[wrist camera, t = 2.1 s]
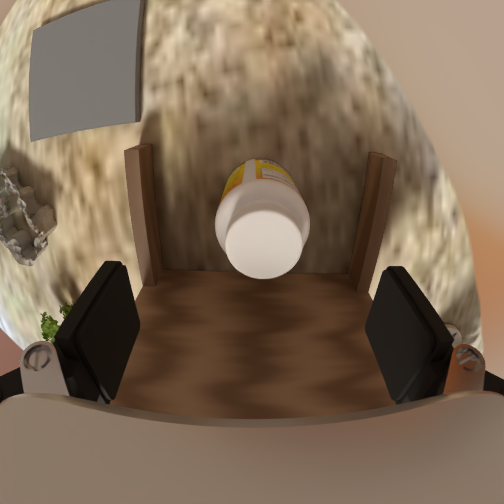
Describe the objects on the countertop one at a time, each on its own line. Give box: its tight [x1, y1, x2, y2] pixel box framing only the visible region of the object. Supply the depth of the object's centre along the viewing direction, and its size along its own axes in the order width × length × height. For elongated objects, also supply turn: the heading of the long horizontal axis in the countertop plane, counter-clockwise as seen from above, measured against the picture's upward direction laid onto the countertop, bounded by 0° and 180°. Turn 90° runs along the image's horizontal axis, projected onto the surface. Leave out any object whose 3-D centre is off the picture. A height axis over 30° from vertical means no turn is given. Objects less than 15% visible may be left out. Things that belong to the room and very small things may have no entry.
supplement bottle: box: [215, 158, 310, 279], centre depth 19 cm, size 6×6×10 cm
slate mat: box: [29, 0, 145, 142], centre depth 17 cm, size 12×12×1 cm
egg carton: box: [0, 167, 57, 266], centre depth 22 cm, size 11×8×4 cm
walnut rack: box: [110, 144, 397, 419], centre depth 18 cm, size 20×13×16 cm, turn 88°
